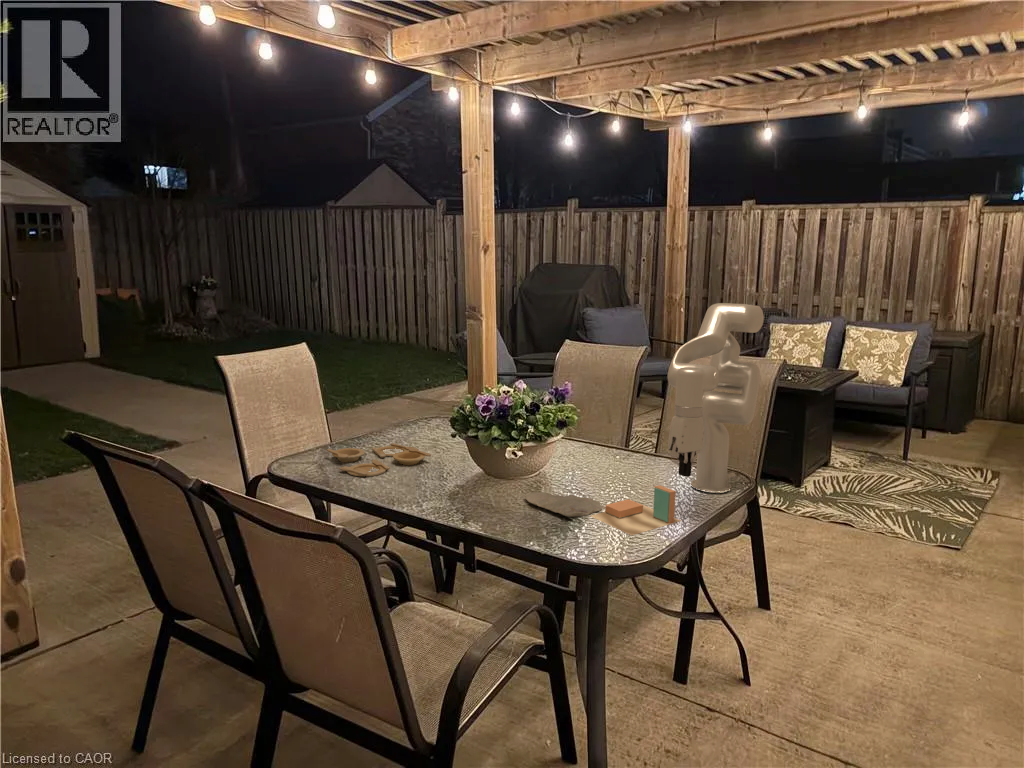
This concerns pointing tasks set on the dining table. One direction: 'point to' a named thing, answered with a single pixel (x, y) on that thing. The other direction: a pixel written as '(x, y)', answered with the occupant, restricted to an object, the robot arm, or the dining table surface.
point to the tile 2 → (664, 504)
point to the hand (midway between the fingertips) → (684, 475)
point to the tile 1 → (623, 508)
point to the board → (634, 521)
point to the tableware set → (352, 454)
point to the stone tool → (565, 504)
